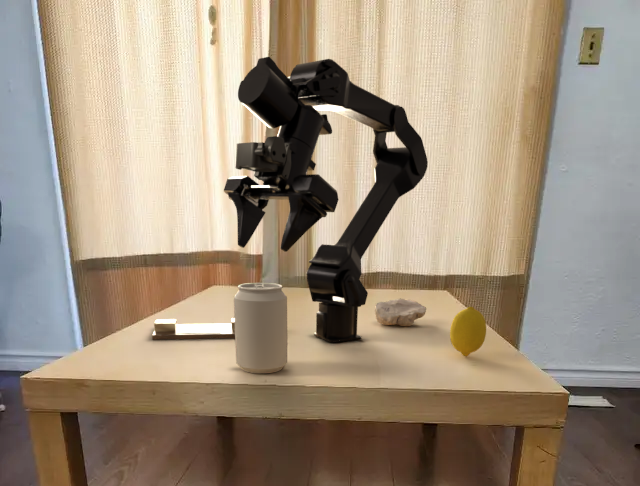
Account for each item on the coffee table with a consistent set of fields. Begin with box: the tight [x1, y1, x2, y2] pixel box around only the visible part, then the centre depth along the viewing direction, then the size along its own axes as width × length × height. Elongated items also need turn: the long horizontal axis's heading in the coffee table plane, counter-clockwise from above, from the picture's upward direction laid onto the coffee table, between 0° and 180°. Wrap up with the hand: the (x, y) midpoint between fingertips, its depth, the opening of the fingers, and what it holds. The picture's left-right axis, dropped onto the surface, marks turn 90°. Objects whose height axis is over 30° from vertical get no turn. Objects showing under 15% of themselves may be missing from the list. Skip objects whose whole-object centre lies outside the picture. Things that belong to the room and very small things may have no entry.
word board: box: [151, 317, 235, 341], centre depth 105 cm, size 22×9×2 cm, turn 99°
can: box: [233, 282, 288, 374], centre depth 82 cm, size 8×8×12 cm
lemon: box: [449, 305, 487, 357], centre depth 91 cm, size 6×6×8 cm
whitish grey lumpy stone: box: [374, 298, 427, 327], centre depth 115 cm, size 9×6×10 cm
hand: (261, 248), depth 85 cm, fingers open, 9 cm apart
